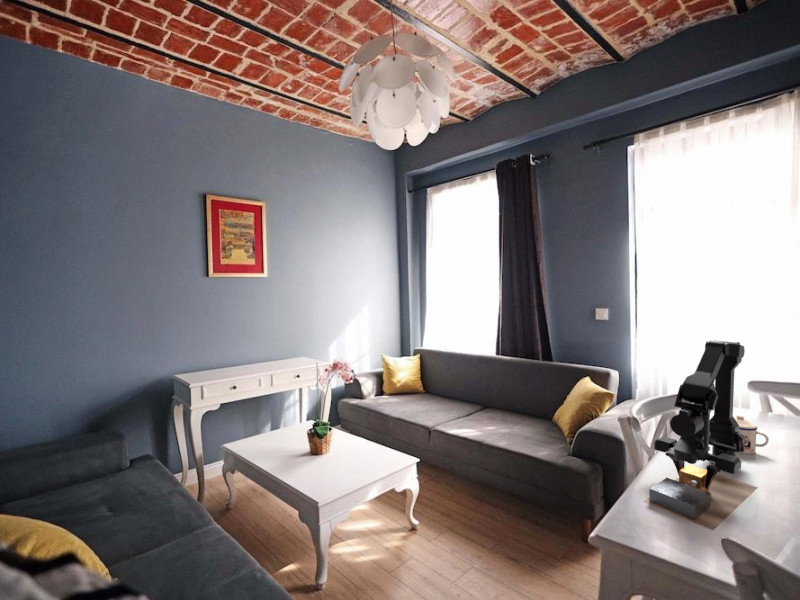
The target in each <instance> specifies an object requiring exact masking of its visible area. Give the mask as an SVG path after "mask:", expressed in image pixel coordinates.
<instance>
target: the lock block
mask: <svg viewBox="0 0 800 600" xmlns="http://www.w3.org/2000/svg"><path fill="white" fill-rule="evenodd" d="M706 475H707V469H704V468H700V467H698V466H694V465H693V464H690V463H688V464H687V465H684V468H682V469H681V470H679V475H678V476H679V477H678V478H679V482H681V483H684V484H686V485H687V484H689V483H690V482H691V481H692V480H693V481H696V482H697V489H700V490H703V491H707V490H708V489H709V488H708V489H706V488H705V482H706Z"/></svg>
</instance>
